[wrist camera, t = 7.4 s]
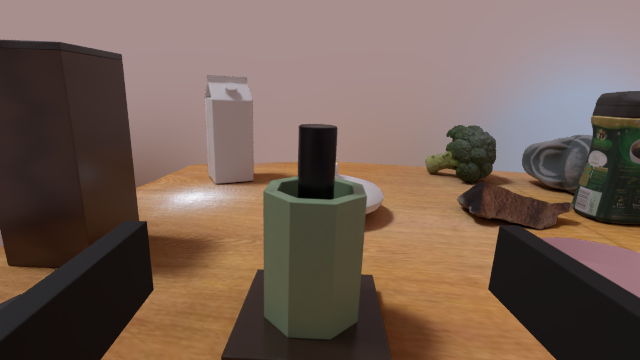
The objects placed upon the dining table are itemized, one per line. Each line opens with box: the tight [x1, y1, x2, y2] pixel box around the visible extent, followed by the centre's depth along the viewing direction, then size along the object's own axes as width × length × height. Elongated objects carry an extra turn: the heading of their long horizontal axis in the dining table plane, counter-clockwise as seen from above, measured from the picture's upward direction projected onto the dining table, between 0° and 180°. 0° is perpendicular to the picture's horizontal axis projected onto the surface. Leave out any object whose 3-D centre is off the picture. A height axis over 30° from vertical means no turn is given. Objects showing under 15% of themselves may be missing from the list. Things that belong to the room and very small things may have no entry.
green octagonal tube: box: [263, 176, 367, 340], centre depth 23 cm, size 6×6×9 cm
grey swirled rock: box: [522, 135, 593, 194], centre depth 62 cm, size 11×16×20 cm
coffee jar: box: [572, 91, 640, 224], centre depth 48 cm, size 10×8×19 cm
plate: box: [541, 238, 640, 298], centre depth 30 cm, size 14×14×2 cm
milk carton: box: [205, 75, 254, 184], centre depth 62 cm, size 7×7×19 cm
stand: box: [0, 40, 139, 268], centre depth 32 cm, size 8×8×20 cm
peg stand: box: [221, 124, 392, 360], centre depth 22 cm, size 10×10×14 cm
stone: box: [457, 182, 574, 229], centre depth 47 cm, size 9×6×15 cm
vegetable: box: [425, 125, 496, 183], centre depth 71 cm, size 12×13×15 cm
